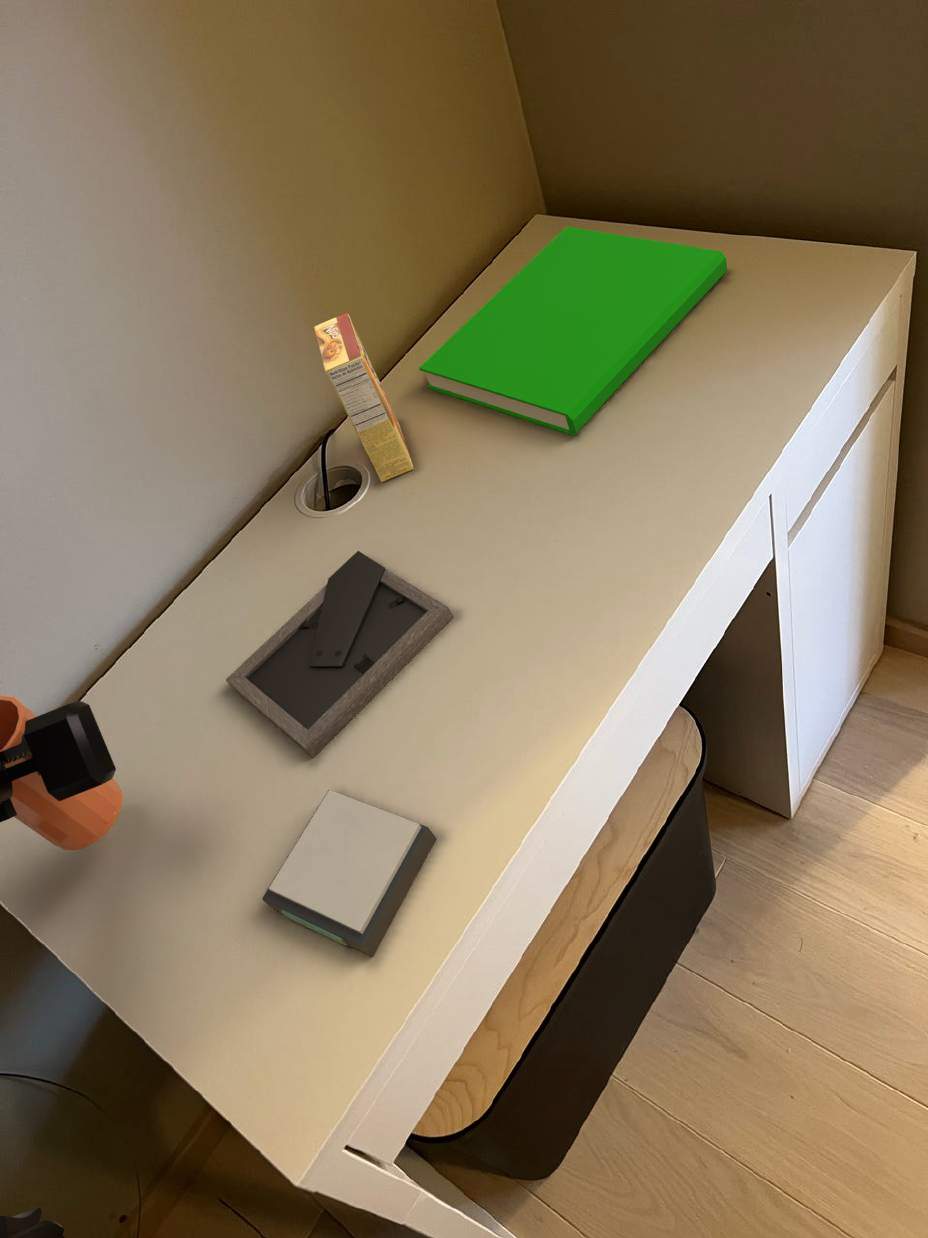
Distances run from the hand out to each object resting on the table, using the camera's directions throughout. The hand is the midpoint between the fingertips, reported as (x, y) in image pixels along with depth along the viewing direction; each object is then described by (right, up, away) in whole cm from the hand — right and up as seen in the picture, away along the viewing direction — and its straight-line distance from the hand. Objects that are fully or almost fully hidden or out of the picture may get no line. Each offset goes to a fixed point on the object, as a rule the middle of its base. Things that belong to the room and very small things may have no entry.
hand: (38, 761), depth 78 cm
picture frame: (+23, +8, +13) cm, 28 cm away
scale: (+26, -9, -2) cm, 27 cm away
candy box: (+26, +30, +29) cm, 49 cm away
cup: (+2, -5, +4) cm, 7 cm away
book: (+47, +44, +33) cm, 72 cm away
